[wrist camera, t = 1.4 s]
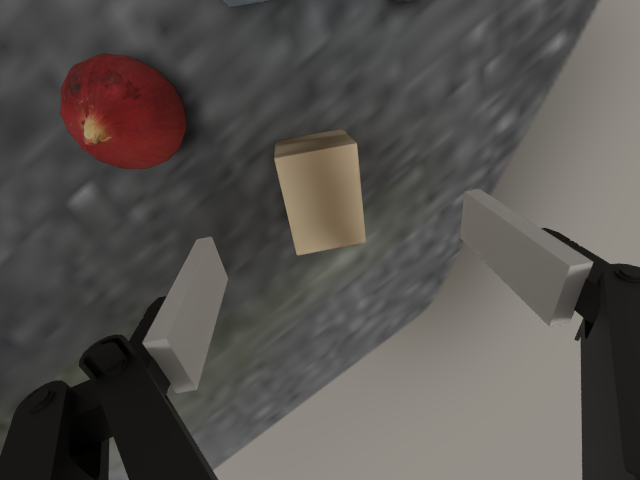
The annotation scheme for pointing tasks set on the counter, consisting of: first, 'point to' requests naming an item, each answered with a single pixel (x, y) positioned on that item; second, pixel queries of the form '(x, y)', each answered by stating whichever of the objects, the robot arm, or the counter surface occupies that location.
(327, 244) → the block
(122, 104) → the red rounded piece
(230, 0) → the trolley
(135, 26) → the counter surface
